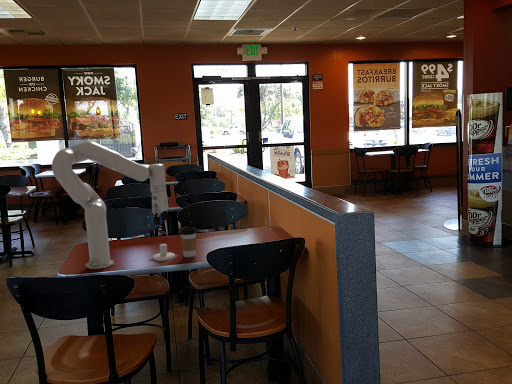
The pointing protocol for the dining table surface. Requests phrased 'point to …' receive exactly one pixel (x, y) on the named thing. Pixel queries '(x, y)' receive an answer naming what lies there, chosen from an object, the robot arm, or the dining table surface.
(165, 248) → the lid
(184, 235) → the coffee cup
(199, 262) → the dining table surface
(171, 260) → the mat
